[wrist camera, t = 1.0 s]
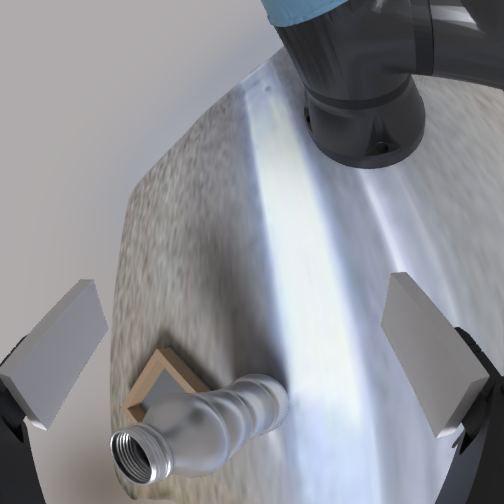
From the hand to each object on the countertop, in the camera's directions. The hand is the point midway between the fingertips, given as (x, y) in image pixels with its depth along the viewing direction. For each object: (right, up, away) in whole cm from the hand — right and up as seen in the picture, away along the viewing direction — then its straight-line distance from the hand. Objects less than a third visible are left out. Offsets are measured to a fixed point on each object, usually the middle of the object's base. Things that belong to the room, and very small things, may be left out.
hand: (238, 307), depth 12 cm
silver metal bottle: (+2, -14, +18) cm, 23 cm away
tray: (-9, -18, +22) cm, 30 cm away
